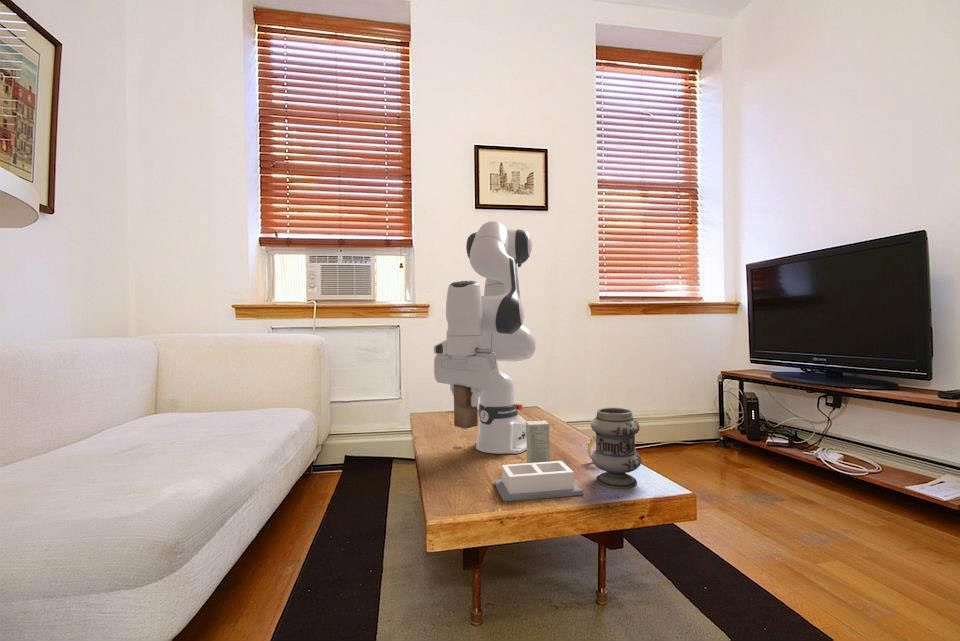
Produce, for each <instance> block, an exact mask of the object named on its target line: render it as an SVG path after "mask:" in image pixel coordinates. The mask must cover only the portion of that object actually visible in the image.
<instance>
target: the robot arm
mask: <svg viewBox="0 0 960 641" xmlns="http://www.w3.org/2000/svg"><path fill="white" fill-rule="evenodd" d="M465 249H466V254H467V255H466V256H467V258H468V259H469V263H470V266H471V268H472V269H473V270H474V272H475V273H476V274H478V275H480V276H481V277H483V278H485V283H484V291H483V295H482V293H481V292H482V290H481V287H480V286H481V285H480V283H479V282H478V281H476V280H461V281H454V282H451V283H450V284H449V285H448V288H447V294H446V303H445V305H446V306H445V318H446V321H447V330H446V339H445V340H443V341H441V342H439V343H437V344H436V345H434V346H433V353H434V354H435V356H434V359H433V374H434V379H435V381H436V383H439V384H443V385H444V384H446V385H449V386H450V391H451V393H452V395H453V397H454V385H462V386H466V387H471V392H473V394H472V396H471V398H470V399H468V401H469V406H472V407H476V406H477V407H478V417H479V422H478V432H477V439H476V444H475V449H476V450H477V451H479V452H482V453H486V454H487V453H488V454H501V455H502V454H515V455H517V454H521V453H523V452H525V451H527V443H526V421H527V420H526V419H525V418H523V417H522V416H521V415H520V414H519V412H518V411H522V410H523V408H524V405H523V403H516V404H515V388H514V387H515V386H514V380H513V379H512V377H511V376H510V375H508V374H507V373H506V372H504V371H502V370H500V369H499V365H498V362H521V361H526V360H529V359H531V358H532V357H533V355H534V354H535V351H536V348H537V342H536V341H537V340H536V338H535V335H534V333H533V332H532V331H531V330H530V329H529V328H527V327H526V326H525V325H524V318H525V312H524V306H523V304H522V301H521V294H520V293H521V292H520V281H519V274H518V273H519V272H518V269H517V267H518V268H521V267H522V264H525V262H527V261H528V259H529V258H531V254H532V250H533V241H532V237H531V235H530V233H529V232H528V231H527V230H523V229H519V228H518V229H507V228H506V227H505V226H504V224H502V223H500V222H498V221H494V220H493V221H491V220H490V221H486V222H484V224H482V225H481V226H480V227H479V229H478V230H477V231H476V232H473V233H471V234H470V235H469V236H468V237H467V239H466V245H465Z"/></svg>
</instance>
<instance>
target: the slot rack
mask: <svg viewBox="0 0 960 641" xmlns="http://www.w3.org/2000/svg"><path fill="white" fill-rule="evenodd" d="M493 482H494V485H495V488H496V489H497V491H498V493H499V495H500V497H501V499H502V501H503V502H515V501H526V500H537V499H549V498H559V497H562V498H563V497H575V496H582V495H584V489H582V488H581V487H580V486H579V485H578V484H577V483H576V482H575V471H573V470H572V469H571V468H570V467H569V466H568V465H567V464H565V462H563V461H562V460H557V461H556V460H555V461H554V460H553V461H550V462H538V463H527V462H525V463H513V464H512V463H511V464H502V465H501V479H494V481H493Z"/></svg>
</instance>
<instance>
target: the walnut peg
mask: <svg viewBox="0 0 960 641" xmlns="http://www.w3.org/2000/svg"><path fill="white" fill-rule="evenodd" d="M472 394H473V392H471V387H466V386H462V385H454V396H453V419H454V420H453V421H454V423H453V425H454V426H453V427H456V428H461V429H465V430H466V429H469V428H470V429H471V428H474V427H479V422H478V419H479V418H478V417H479V412H478V406H476V407H472V406H469V401H468V399H470V398H471V396H472Z"/></svg>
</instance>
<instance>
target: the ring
mask: <svg viewBox="0 0 960 641" xmlns="http://www.w3.org/2000/svg"><path fill="white" fill-rule="evenodd" d="M594 444H596V433H595V435H592V436H591V437H590V438H589V439H588V442H587V443H586V453H587V455H588V457H589V458H590V459H591V460H592V458H591V456H592V453H591V447H592V446H593V445H594Z"/></svg>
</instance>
